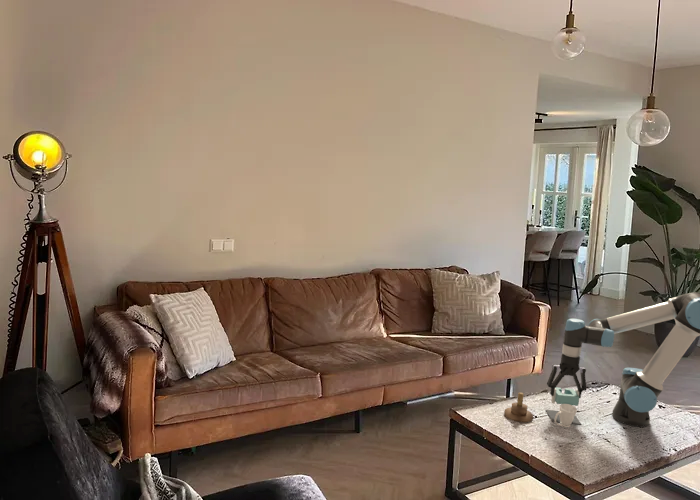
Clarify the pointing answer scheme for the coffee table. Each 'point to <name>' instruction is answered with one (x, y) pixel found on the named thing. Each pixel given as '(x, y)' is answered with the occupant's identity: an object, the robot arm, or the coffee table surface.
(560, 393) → the link
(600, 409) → the coffee table surface
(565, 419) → the cup
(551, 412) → the mat
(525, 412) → the stand
